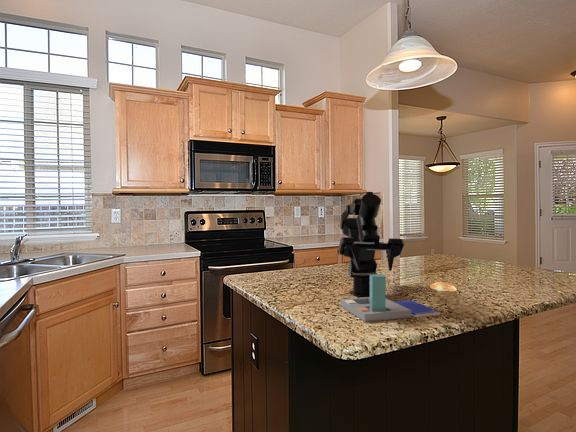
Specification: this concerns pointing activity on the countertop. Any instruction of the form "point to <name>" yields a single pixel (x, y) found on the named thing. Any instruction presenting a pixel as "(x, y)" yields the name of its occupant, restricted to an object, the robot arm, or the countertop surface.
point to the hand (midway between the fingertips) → (374, 269)
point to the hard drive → (418, 309)
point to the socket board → (362, 311)
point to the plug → (377, 292)
